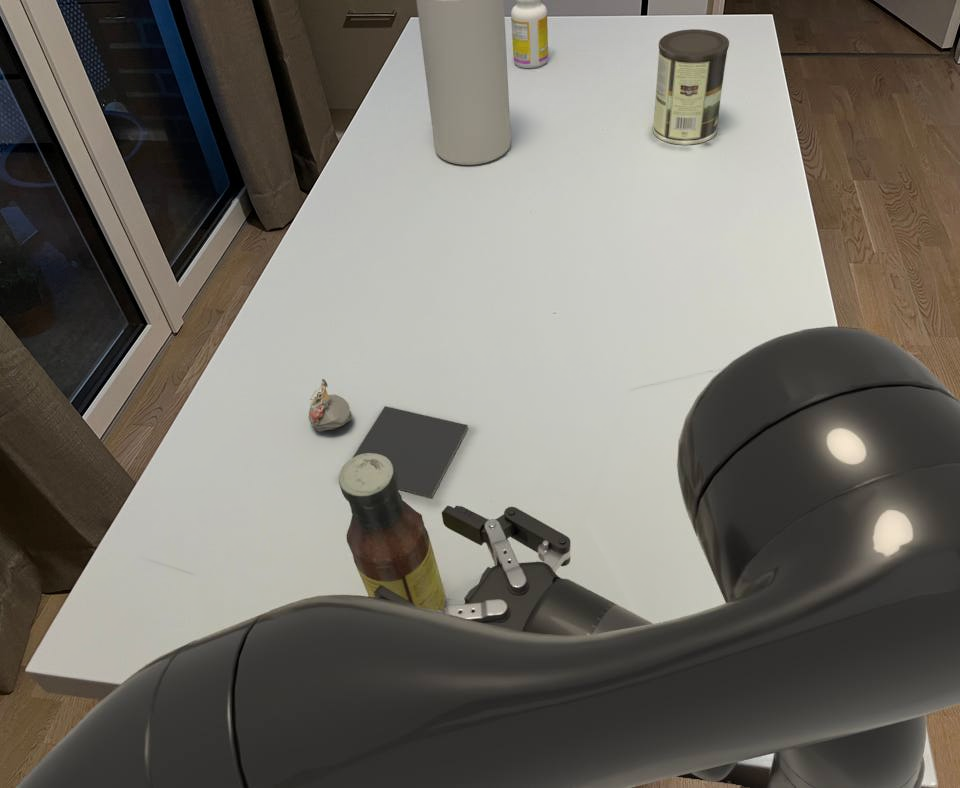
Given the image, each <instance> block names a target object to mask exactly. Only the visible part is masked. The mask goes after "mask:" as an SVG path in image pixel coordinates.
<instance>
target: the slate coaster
mask: <svg viewBox="0 0 960 788" xmlns="http://www.w3.org/2000/svg"><path fill="white" fill-rule="evenodd" d="M468 429H469V424H465V423H461V422H456V421H452V420H448V419H442V418H439V417H434V416H430V415H426V414H421V413H417V412H413V411H407V410H404V409H399V408H396V407H391V406H386V405H385V406H384V407H383V408H382V410H381V412H379V415H378V416H377V418H376V420H375V421H374V422H373V424H372V426H371V428H369V431H368V432H367V434H366V435H365V437H364V438H363V440H362V442H361V443H360V445H359V446H358V448H357V449H356V451H355V453H354V455H353V456H352V458H353V457H355V456H357V455H360V454H366V453H375V454H380V455H382V456H385V457H387V458H388V459H389V460H390V461H391V463H392V464H393V466H394V469H395V472H396V474H397V478H398V481H397V488H398V491H402V492H405V493H409V494H414V495H418V496H422V497H426V498H430V499H433V497H434V495H435V493H436V491H437V489H438V487H439V485H440V483H441V481H442V480H443V477H444V476H445V474H446V472H447V470H448V468H449V466H450V464H451V462H452V461H453V458H454V457H455V454H456V453H457V450H458V448H459V446H460V444H461V442H462V441H463V439H464V437H465V435H466V433H467V431H468Z"/></svg>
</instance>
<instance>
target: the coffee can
mask: <svg viewBox="0 0 960 788" xmlns="http://www.w3.org/2000/svg"><path fill="white" fill-rule="evenodd" d="M729 46H730V40H729V38H728V37H726V36H725V34H722V33H720V32H717V31H713V30H708V29H700V28H699V29H694V28H693V29H692V28H691V29H681V30H676V31H672V32H669V33H667V34H665V35H664V36H662V37H660V38H659V41H658V59H657V61H658V62H657V74H656V89H655V101H654V113H653V125H652V133H653V135H654V136H655V137H657V139H659V140H661V141H663V142H666V143H669V144H673V145H681V146H682V145H683V146H684V145H686V146H688V145H696V144H701V143H704V142H708V141H709V140H711V139H713V138H714V137H715V136H716V134H717V132H718V122H719V114H720V105H721V99H722V91H723V83H724V76H725V69H726V63H727V55H728V50H729Z"/></svg>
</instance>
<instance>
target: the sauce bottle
mask: <svg viewBox="0 0 960 788" xmlns="http://www.w3.org/2000/svg"><path fill="white" fill-rule="evenodd" d="M397 481H398V478H397V474H396V472H395V469H394V466H393V464H392V463H391V461H390V460H389V459H388V458H387V457H385V456H382V455H380V454H375V453H366V454H360V455H357V456H355V457H353V456H352V457H351V459H349V460H348V461H347V462H346V463H345V464H344V465H343V466H342V468H341V470H340V472H339V475H338V484H339V488H340V490H341V494H342V496H343V498H344V499H345V500H346V501H347V502H348V503H349V507H350V512H351V519H350V523H349V527H348V529H347V532H346V543H347V546H348V547H349V549H350V552H351V554H352V557H353V562H354V564H355V567H356V570H357V572H358V574H359V576H360V579H361V581H362V583H363V587H364V589H365V591H366V593H367V597H375V596H374V592H375V590H376V589H377V588H378V587H379V586H380V585H382V586H384V587H386V588H388V589H389V590H391V591H393V592H394V593H396V594H398V595H399V596H401V597H403V598H404V599H406V600H408V601H410V602H411V603H413V604H415V605H416V606H419V607H423V608H427V609H431V610H435V611H436V610H442V609H443V608H444V607H446V606H447V605H446V603H447V602H446V593H445V588H444V584H443V581H442V578H441V574H440V570H439V566H438V563H437V559H436V555H435V552H434V549H433V546H432V545H433V544H432V542H431V539H430V535H429V531H428V530H427V528H426V525H425V522H424V519H423V515H422V514H421V513H419V512H418V511H416V510H415V509H414V508H413V507H412V506H411V505H410V504H408V503H407V502H406V501H405V500H403V497H402V495H401V493H400V490H399V489H398V488H397Z"/></svg>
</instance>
